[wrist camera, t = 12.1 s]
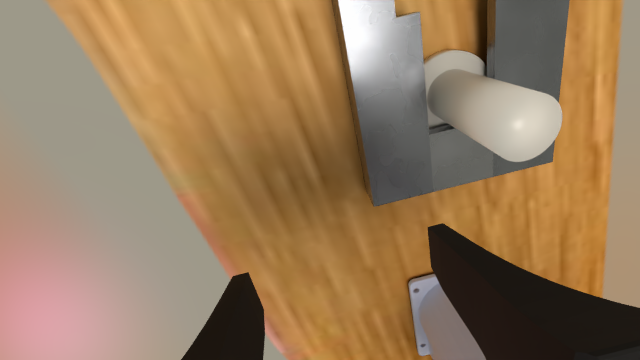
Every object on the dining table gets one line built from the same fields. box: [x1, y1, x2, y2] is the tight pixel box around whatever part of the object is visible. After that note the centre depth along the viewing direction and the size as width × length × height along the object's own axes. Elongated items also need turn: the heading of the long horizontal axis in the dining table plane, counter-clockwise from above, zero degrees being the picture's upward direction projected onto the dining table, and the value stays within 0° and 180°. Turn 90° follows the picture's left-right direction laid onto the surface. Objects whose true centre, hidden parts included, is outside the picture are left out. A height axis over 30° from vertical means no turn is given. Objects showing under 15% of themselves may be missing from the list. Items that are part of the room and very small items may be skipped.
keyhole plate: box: [332, 0, 569, 207], centre depth 18 cm, size 20×12×2 cm, turn 13°
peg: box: [424, 50, 562, 162], centre depth 18 cm, size 5×5×8 cm
